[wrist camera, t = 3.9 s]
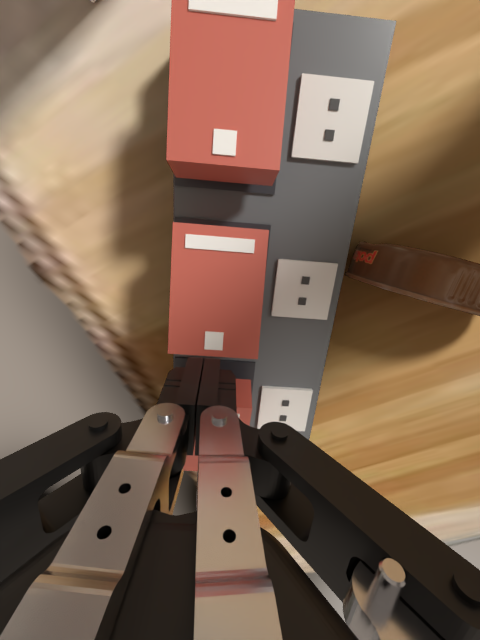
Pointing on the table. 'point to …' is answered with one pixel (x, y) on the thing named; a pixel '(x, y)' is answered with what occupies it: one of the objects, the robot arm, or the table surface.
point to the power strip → (303, 208)
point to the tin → (419, 275)
